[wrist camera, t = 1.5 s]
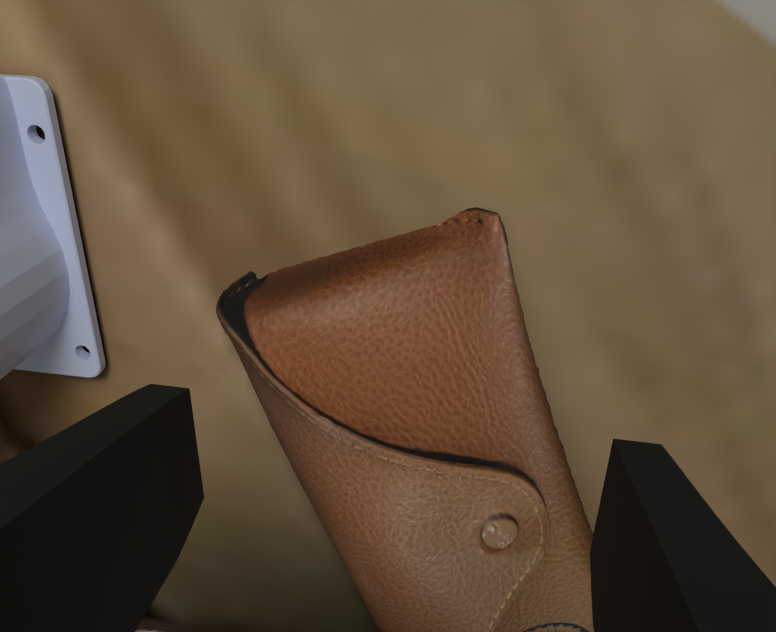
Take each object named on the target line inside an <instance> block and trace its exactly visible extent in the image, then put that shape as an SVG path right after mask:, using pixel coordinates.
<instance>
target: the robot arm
mask: <svg viewBox="0 0 776 632" xmlns="http://www.w3.org/2000/svg"><path fill="white" fill-rule="evenodd" d="M36 126H39V127H40V128H41V129H42V130H43V131H44V133H45V140H43V139H41V138H40V137H39V136H38V134H37V131H36ZM82 346H85V347H86V348H87V349H89V351H90V353H88V352H86V351H85V350H84V349H83V347H82ZM104 368H105V357H104V352H103V347H102V342H101V337H100V332H99V327H98V322H97V317H96V312H95V307H94V302H93V297H92V291H91V286H90V281H89V276H88V271H87V266H86V261H85V256H84V251H83V246H82V241H81V236H80V231H79V226H78V220H77V215H76V210H75V205H74V200H73V195H72V190H71V185H70V180H69V175H68V170H67V165H66V160H65V155H64V150H63V144H62V139H61V134H60V129H59V124H58V119H57V114H56V109H55V104H54V99H53V95H52V92H51V89H50V88H49V86H48V85H47V84H46V82H44V81H43V80H42V79H40V78H38V77H34V76H22V75H1V74H0V379H2V378H3V377H4V376H5V375H7V374H8V373H9V372H10V371H12V370H13V369H16V370H25V371H34V372H43V373H51V374H60V375H69V376H78V377H86V378H94V377H96V376H98V375H99V374H100V373H101V372H102V371H103V370H104ZM203 499H204V493H203V486H202V478H201V471H200V464H199V456H198V449H197V442H196V434H195V427H194V420H193V412H192V405H191V398H190V390H189V388H180V387H172V386H163V385H155V384H149V385H147V386H145V387H143V388H141V389H138V390H136V391H134V392H132V393H130V394H128V395H127V396H125V397H123V398H121V399H119V400H117V401H115V402H113V403H112V404H110V405H108V406H106V407H104V408H102V409H101V410H99V411H97V412H95V413H93V414H92V415H90V416H88V417H86V418H84V419H83V420H81V421H79V422H77V423H75V424H74V425H72V426H70V427H68V428H66V429H65V430H63V431H61V432H59V433H57V434H56V435H54V436H52V437H50V438H48V439H46V440H45V441H43V442H41V443H39V444H37V445H36V446H34V447H32V448H30V449H28V450H26V451H25V452H23V453H21V454H19V455H17V456H15V457H14V458H12V459H10V460H8V461H6V462H4V463H2V464H0V632H135V630H136V629H137V627H138V625H139V624H140V622H141V620H142V619H143V617H144V615H145V614H146V612H147V610H148V609H149V607H150V605H151V604H152V602H153V600H154V599H155V597H156V595H157V593H158V592H159V590H160V588H161V587H162V585H163V583H164V582H165V580H166V578H167V576H168V575H169V573H170V571H171V569H172V568H173V566H174V564H175V562H176V561H177V559H178V557H179V555H180V552H181V550H182V548H183V546H184V543H185V541H186V539H187V537H188V535H189V532H190V530H191V528H192V525H193V523H194V520H195V518H196V515H197V513H198V511H199V508H200V506H201V503H202V501H203ZM590 572H591V597H592V617H593V629H594V632H776V587H775V586H774V585H773V584H772V582H771V581H770V580H769V579H768V578H767V576H766V575H765V574H764V573H763V572H762V571H761V569H760V568H759V567H758V566H757V565H756V563H755V562H754V561H753V560H752V559H751V557H750V556H749V555H748V554H747V553H746V551H745V550H744V549H743V548H742V547H741V545H740V544H739V543H738V542H737V541H736V539H735V538H734V537H733V536H732V534H731V533H730V532H729V531H728V529H727V528H726V527H725V526H724V524H723V523H722V522H721V521H720V519H719V518H718V517H717V516H716V514H715V513H714V512H713V510H712V509H711V508H710V507H709V505H708V504H707V503H706V502H705V500H704V499H703V498H702V496H701V495H700V494H699V492H698V491H697V490H696V489H695V487H694V486H693V485H692V483H691V482H690V481H689V479H688V478H687V477H686V475H685V474H684V473H683V471H682V470H681V469H680V468H679V466H678V465H677V464H676V462H675V461H674V460H673V458H672V457H671V456H670V455H669V453H668V452H667V451H666V450H665V448H664V447H663V446H662V445H661V444H653V443H645V442H636V441H628V440H620V439H613V443H612V448H611V452H610V457H609V462H608V467H607V472H606V477H605V481H604V486H603V491H602V496H601V501H600V505H599V510H598V515H597V520H596V525H595V530H594V534H593V539H592V544H591V549H590Z"/></svg>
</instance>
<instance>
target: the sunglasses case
mask: <svg viewBox="0 0 776 632" xmlns="http://www.w3.org/2000/svg"><path fill="white" fill-rule="evenodd" d="M216 313H217V316H218V319H219V320H220V323H221V325H222V327H223V329H224V330H225V332H226V333H227V334H228V336H229V337H230V339H231V341H232V343H233V345H234V347H235V349H236V351H237V353H238V355H239V357H240V359H241V361H242V364H243V366H244V368H245V370H246V372H247V374H248V377H249V379H250V381H251V383H252V385H253V388H254V390H255V392H256V394H257V396H258V398H259V400H260V403H261V405H262V406H263V409H264V411H265V413H266V415H267V417H268V419H269V421H270V424H271V426H272V428H273V430H274V431H275V434H276V436H277V437H278V440H279V442H280V444H281V446H282V448H283V450H284V452H285V454H286V456H287V457H288V459H289V461H290V463H291V465H292V467H293V470H294V471H295V473H296V475H297V477H298V479H299V481H300V483H301V485H302V487H303V489H304V491H305V492H306V494H307V496H308V498H309V500H310V502H311V504H312V506H313V508H314V510H315V511H316V513H317V515H318V517H319V519H320V520H321V522H322V524H323V526H324V528H325V530H326V532H327V534H328V536H329V538H330V539H331V541H332V543H333V545H334V547H335V549H336V551H337V553H338V555H339V556H340V558H341V560H342V562H343V564H344V566H345V568H346V570H347V572H348V573H349V575H350V577H351V579H352V581H353V583H354V584H355V587H356V589H357V590H358V592H359V594H360V596H361V597H362V599H363V601H364V603H365V604H366V607H367V609H368V610H369V612H370V614H371V616H372V618H373V619H374V621H375V623H376V625H377V626H378V628H379V630H380V632H594V629H593V617H592V597H591V572H590V549H591V544H592V539H593V532H592V531H591V529H590V525H589V523H588V520H587V517H586V514H585V512H584V509H583V506H582V502H581V500H580V497H579V495H578V491H577V489H576V486H575V483H574V480H573V477H572V475H571V470H570V467H569V466H568V463H567V460H566V455H565V451H564V447H563V445H562V444H561V441H560V439H559V435H558V432H557V429H556V427H555V425H554V421H553V418H552V414H551V410H550V405H549V403H548V401H547V398H546V393H545V390H544V388H543V386H542V383H541V379H540V377H539V369H538V368H537V366H536V364H535V359H534V355H533V351H532V349H531V344H530V342H529V337H528V334H527V330H526V326H525V322H524V316H523V311H522V309H521V304H520V301H519V294H518V292H517V287H516V284H515V278H514V274H513V268H512V264H511V260H510V254H509V249H508V241H507V236H506V232H505V229H504V226H503V224H502V221H501V218H500V216H499V215H498V213H495V212H491V211H488V210H485V209H480V208H469V209H466V210H465V211H462V212H460V213H459V214H457V215H455V216H453V217H451V218H449V219H448V220H446V221H445V222H443V223H439V224H437V225H435V226H432V227H427V228H423V229H420V230H416V231H413V232H410V233H406V234H403V235H398V236H397V237H392V238H388V239H385V240H380V241H377V242H374V243H371V244H367V245H365V246H361V247H356V248H352V249H350V250H347V251H343V252H339V253H336V254H332V255H329V256H326V257H319V258H317V259H315V260H312V261H306V262H304V263H301V264H298V265H295V266H290V267H287V268H283V269H281V270H278V271H276V272H272V273H269V274H268V275H266V276H265V277H263V278H262V279H257V277H256V275H255V273H253V272H249V273H247V274H246V275H244V276H243V277H241V278H240V279H238V280H237V281H236V282H234V283H232V284H231V285H230V286H229V288H228V289H226V290H225V291H223V293H222V295H221V297H220V298H219V300H218V302H217V306H216Z"/></svg>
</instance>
